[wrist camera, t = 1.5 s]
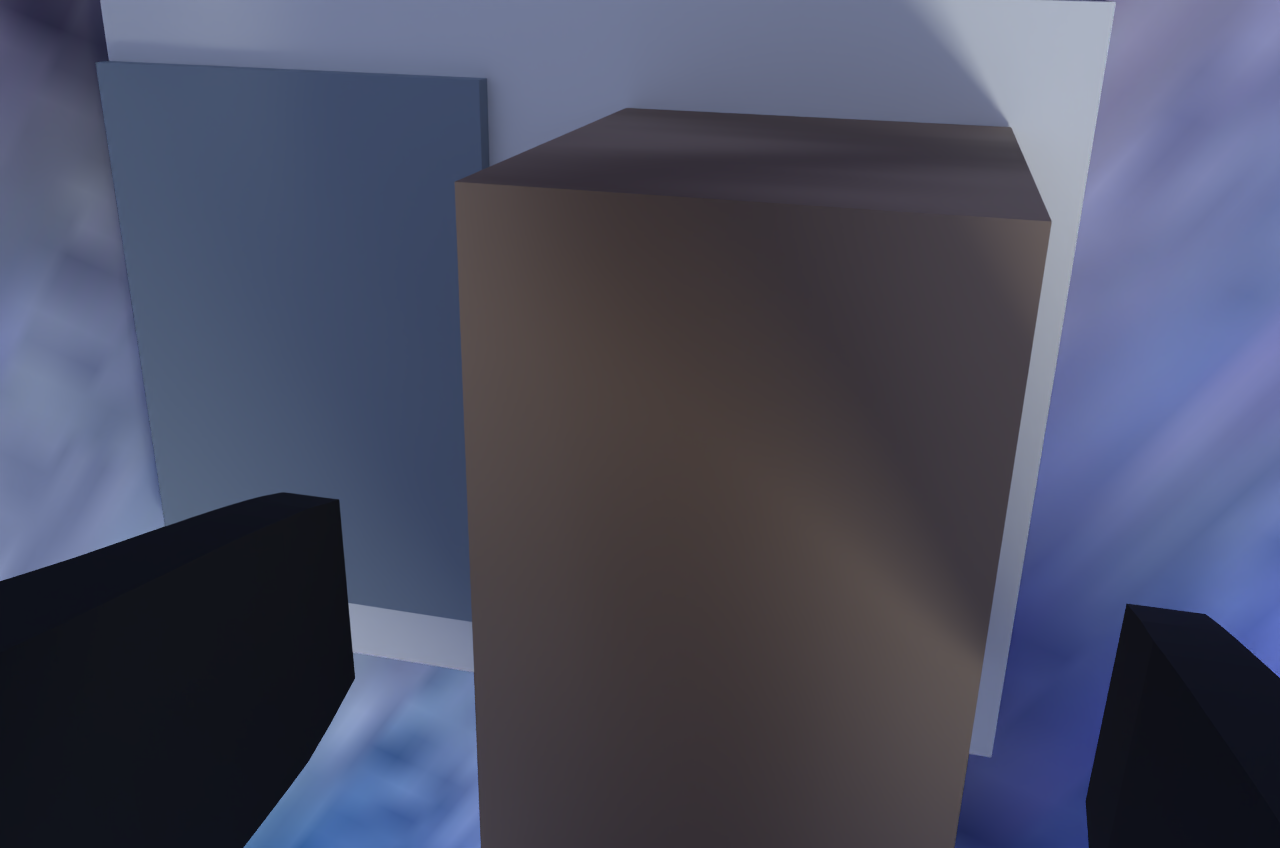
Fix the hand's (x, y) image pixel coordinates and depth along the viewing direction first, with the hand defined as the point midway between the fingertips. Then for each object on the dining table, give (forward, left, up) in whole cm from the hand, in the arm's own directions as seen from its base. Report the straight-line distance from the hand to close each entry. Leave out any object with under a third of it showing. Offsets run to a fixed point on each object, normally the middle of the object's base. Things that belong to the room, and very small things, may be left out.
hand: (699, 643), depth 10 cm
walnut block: (0, 0, -7) cm, 7 cm away
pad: (+7, 0, -7) cm, 10 cm away
